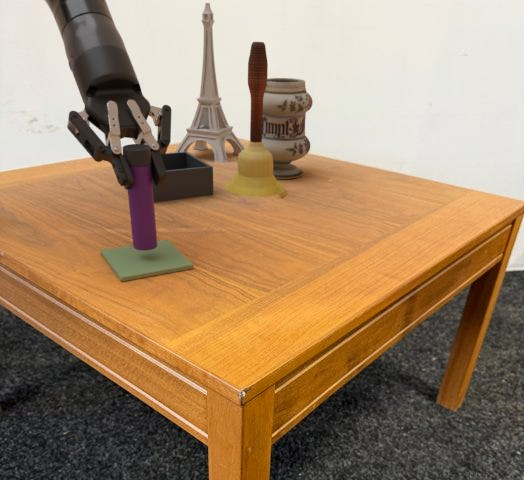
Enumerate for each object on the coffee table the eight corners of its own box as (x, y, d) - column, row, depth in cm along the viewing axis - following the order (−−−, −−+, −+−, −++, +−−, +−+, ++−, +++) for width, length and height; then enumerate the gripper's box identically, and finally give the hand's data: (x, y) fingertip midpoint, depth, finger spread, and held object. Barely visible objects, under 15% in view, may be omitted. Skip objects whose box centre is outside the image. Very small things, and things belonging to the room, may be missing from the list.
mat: (121, 282, 70) (120, 277, 70) (100, 253, 78) (100, 249, 77) (193, 268, 74) (193, 264, 74) (167, 243, 82) (167, 239, 81)
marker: (131, 251, 73) (121, 150, 66) (133, 241, 76) (123, 143, 69) (157, 250, 74) (149, 150, 67) (158, 241, 76) (151, 143, 69)
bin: (149, 207, 95) (146, 173, 92) (128, 188, 104) (125, 156, 101) (213, 199, 100) (213, 166, 97) (188, 181, 109) (187, 151, 106)
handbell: (239, 179, 112) (240, 38, 98) (295, 187, 108) (305, 42, 94) (211, 195, 102) (208, 41, 89) (272, 205, 98) (279, 46, 85)
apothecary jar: (265, 163, 123) (268, 74, 114) (315, 170, 119) (323, 79, 110) (242, 175, 114) (243, 79, 104) (296, 184, 110) (302, 85, 100)
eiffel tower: (197, 146, 135) (193, 2, 118) (247, 153, 131) (250, 4, 114) (170, 158, 124) (162, 1, 108) (224, 165, 120) (223, 4, 104)
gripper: (46, 43, 64) (93, 175, 62) (158, 42, 70) (205, 161, 69) (42, 87, 70) (86, 207, 69) (146, 82, 77) (188, 192, 75)
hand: (145, 183), depth 69 cm, fingers closed on marker, 3 cm apart
